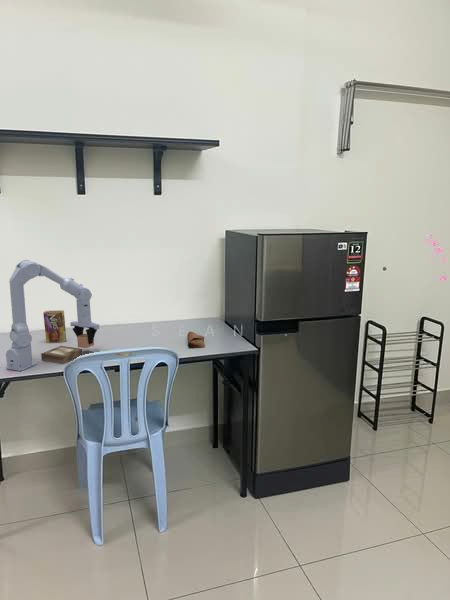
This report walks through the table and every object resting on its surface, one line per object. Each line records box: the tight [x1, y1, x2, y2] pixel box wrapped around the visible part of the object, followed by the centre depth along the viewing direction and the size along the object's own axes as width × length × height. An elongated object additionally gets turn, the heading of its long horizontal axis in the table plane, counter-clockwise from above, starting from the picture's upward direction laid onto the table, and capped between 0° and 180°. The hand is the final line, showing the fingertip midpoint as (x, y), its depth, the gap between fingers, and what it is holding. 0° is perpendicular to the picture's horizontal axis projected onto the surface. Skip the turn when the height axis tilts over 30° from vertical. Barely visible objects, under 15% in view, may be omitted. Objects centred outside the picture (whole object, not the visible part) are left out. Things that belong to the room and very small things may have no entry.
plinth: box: [40, 345, 84, 365], centre depth 195 cm, size 12×12×3 cm
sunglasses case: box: [186, 331, 206, 350], centre depth 216 cm, size 18×7×7 cm
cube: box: [76, 332, 95, 349], centre depth 201 cm, size 5×5×5 cm
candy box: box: [43, 309, 67, 344], centre depth 217 cm, size 9×4×15 cm, turn 96°
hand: (85, 342), depth 201 cm, fingers closed on cube, 5 cm apart
